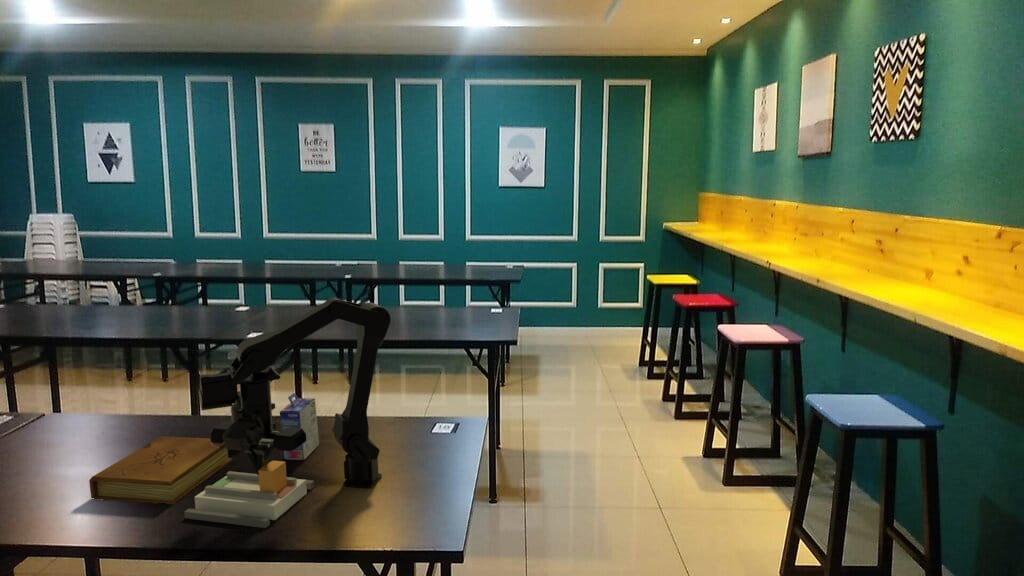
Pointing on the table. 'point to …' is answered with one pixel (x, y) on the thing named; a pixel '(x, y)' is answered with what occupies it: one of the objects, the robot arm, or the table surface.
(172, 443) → the diary
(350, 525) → the table surface
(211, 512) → the grey base plate
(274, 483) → the handle
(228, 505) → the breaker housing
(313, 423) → the ink cartridge box
